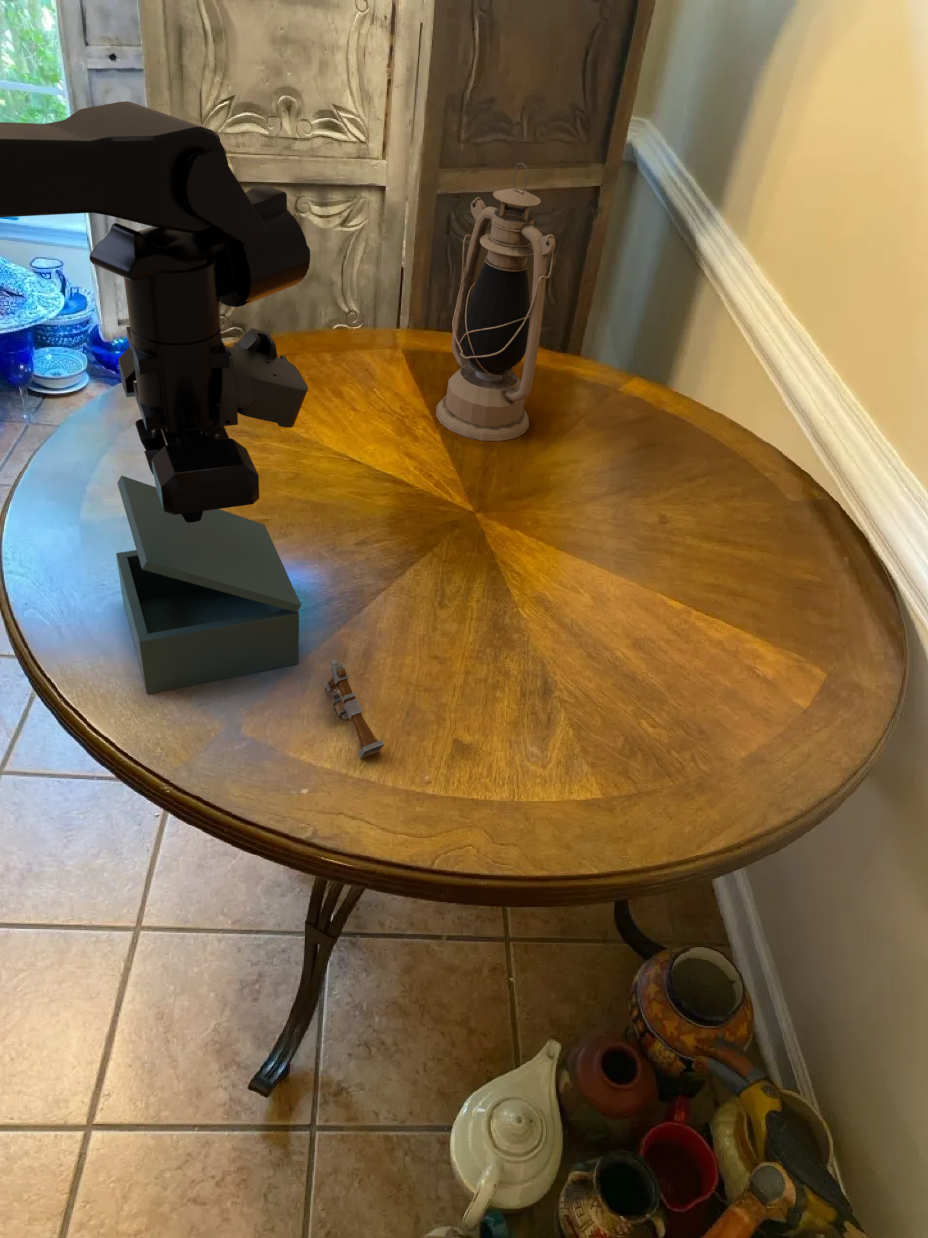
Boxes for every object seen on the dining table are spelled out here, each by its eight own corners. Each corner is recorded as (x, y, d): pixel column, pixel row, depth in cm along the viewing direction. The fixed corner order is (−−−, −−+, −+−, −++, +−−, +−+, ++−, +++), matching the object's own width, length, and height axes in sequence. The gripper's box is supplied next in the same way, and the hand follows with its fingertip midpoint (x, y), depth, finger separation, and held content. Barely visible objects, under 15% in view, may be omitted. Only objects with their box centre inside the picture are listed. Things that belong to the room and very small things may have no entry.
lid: (141, 569, 66) (146, 561, 66) (116, 482, 74) (121, 474, 73) (297, 612, 75) (302, 605, 74) (260, 531, 82) (264, 524, 82)
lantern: (410, 400, 117) (436, 145, 97) (481, 382, 123) (518, 140, 104) (482, 454, 109) (526, 189, 90) (554, 432, 116) (609, 180, 96)
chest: (146, 694, 74) (139, 641, 70) (123, 604, 81) (115, 552, 78) (298, 664, 79) (299, 613, 75) (263, 581, 86) (262, 531, 83)
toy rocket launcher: (333, 674, 77) (345, 652, 73) (371, 760, 75) (386, 742, 71) (314, 681, 76) (325, 659, 72) (351, 768, 74) (365, 750, 70)
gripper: (337, 382, 57) (330, 576, 67) (261, 265, 69) (265, 444, 79) (152, 399, 53) (175, 603, 63) (105, 270, 65) (131, 459, 75)
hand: (192, 519), depth 70 cm, fingers closed
